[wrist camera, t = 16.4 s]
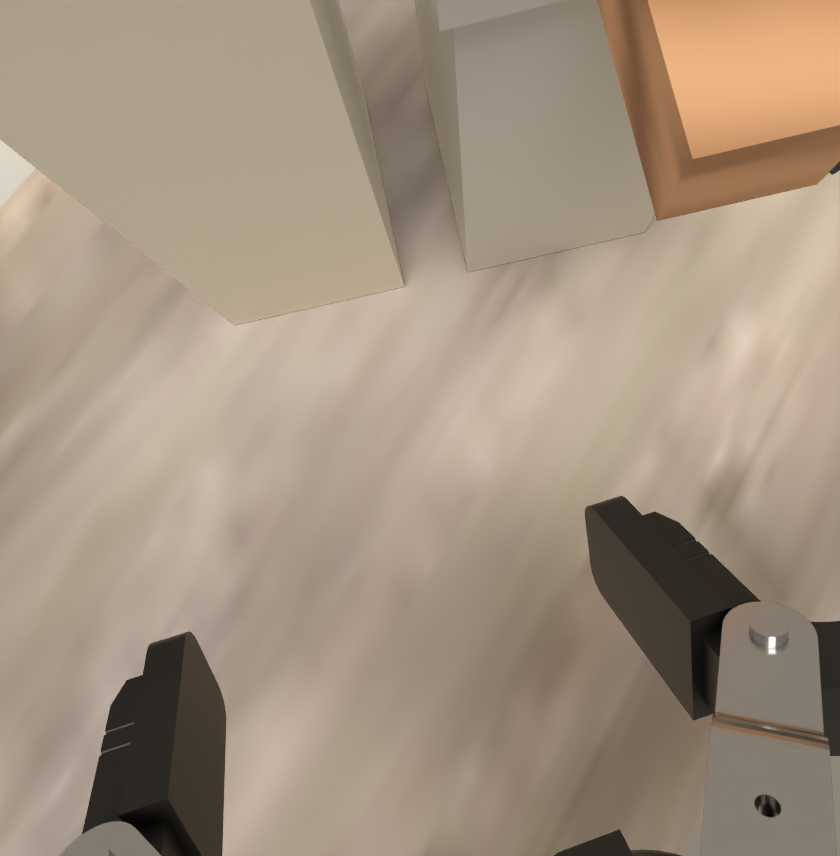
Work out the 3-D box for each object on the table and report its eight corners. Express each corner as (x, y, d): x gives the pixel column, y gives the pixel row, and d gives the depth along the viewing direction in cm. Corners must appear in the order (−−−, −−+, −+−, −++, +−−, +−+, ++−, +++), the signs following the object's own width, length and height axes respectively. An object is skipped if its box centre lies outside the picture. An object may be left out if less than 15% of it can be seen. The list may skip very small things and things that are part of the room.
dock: (655, 237, 42) (880, -133, 18) (461, 281, 43) (435, -20, 19) (600, 34, 44) (738, -536, 20) (416, 79, 45) (342, -421, 21)
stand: (413, 292, 43) (220, -357, 11) (227, 334, 43) (-448, -164, 12) (371, 90, 45) (107, -937, 13) (194, 133, 46) (-454, -744, 14)
